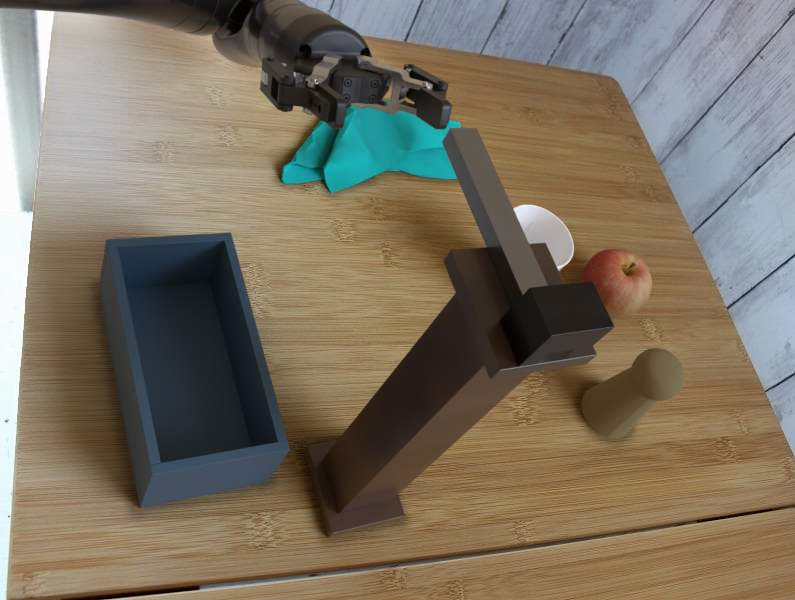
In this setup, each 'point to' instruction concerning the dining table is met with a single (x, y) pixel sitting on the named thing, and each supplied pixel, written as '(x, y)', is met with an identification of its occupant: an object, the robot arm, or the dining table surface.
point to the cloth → (370, 149)
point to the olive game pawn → (632, 392)
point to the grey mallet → (524, 267)
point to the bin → (189, 367)
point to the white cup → (546, 232)
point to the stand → (427, 398)
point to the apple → (619, 281)
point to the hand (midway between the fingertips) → (394, 116)
